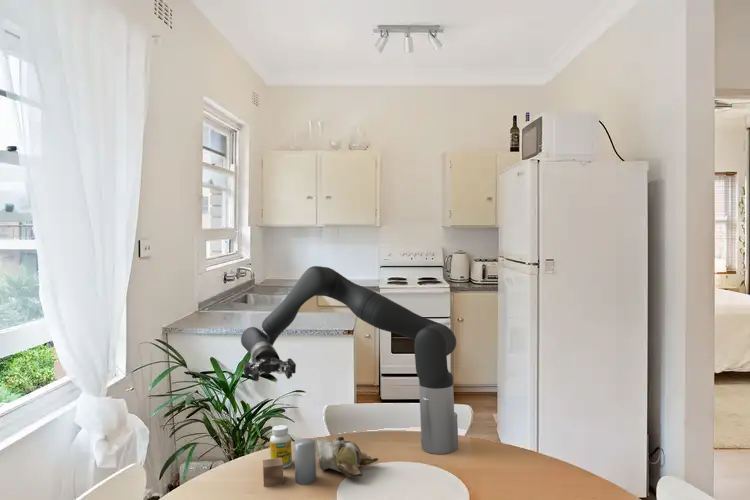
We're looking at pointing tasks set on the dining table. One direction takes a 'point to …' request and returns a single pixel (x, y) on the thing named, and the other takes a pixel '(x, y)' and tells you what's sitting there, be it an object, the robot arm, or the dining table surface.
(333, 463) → the ceramic sculpture
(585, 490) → the dining table surface
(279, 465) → the walnut block
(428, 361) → the robot arm
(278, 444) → the supplement bottle
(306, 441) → the light grey cylinder
